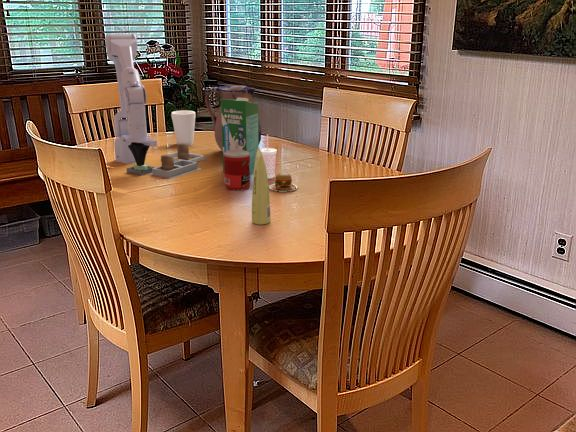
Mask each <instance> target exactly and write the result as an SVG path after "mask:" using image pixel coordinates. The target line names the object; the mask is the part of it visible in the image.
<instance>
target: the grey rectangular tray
mask: <svg viewBox="0 0 576 432" xmlns="http://www.w3.org/2000/svg"><path fill="white" fill-rule="evenodd" d="M154 167H155V168H152V172H151V173H149V175H150V176H151V175H152V176H155V177H161V178H165V179H170V180H173V179H176V178H178V177H181V176H184V175H187V174H190V173H194V172H197V171H199V170H200V171H201V170H202V168H201V167H199V162H192V161H187V160H179V161H176V162H174V169H173V170H169V171H166V170H162V165H159V166H157V167H156V166H154Z"/></svg>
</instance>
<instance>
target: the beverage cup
mask: <svg viewBox="0 0 576 432" xmlns="http://www.w3.org/2000/svg"><path fill="white" fill-rule="evenodd" d="M260 150H261V152H262V156H263V158H264V162H265V166H266V171H267V178H268V179H274V178H276V163H277V162H276V159H277V151H278V149H276V148H273V147H272V148H271V147H269V134H266V147H263V148H260ZM273 177H274V178H273Z"/></svg>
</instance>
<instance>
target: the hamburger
mask: <svg viewBox="0 0 576 432" xmlns="http://www.w3.org/2000/svg"><path fill="white" fill-rule="evenodd" d="M273 181H274V183H272V184H270V185H268V186H269V190H272V191H273V190H274V192H277V190H278V191H279V192H278V193H288V192H287V191H288V190H286V189H289V191H290V192H294V191H295V190H298V185H296V184H294V183H293V179H292V175H291V174H290V173H287V172H279V173H277V175H275V179H274V180H273ZM292 184H293V185H295V186H296V189H295V188H294V189H292V190H291V188H292V187H293V186H292ZM272 186H273V187H275V188H276V189H277V190H276V189H272V188H273V187H272ZM271 187H272V188H271ZM279 189H280V190H279Z"/></svg>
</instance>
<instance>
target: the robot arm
mask: <svg viewBox="0 0 576 432" xmlns="http://www.w3.org/2000/svg"><path fill="white" fill-rule="evenodd" d="M104 37H105V38H104V39H105V41H104V43H105V49H106V56H107V59H108V60H109V61H111V62H113V64H114V66H115V71H116V79H117V80H116V81H117V88H118V95H119V96H118V97H119V104H120V105H119V106H120V110H119V111H118V112H116V113H115V115H114V117H113V120H114V121H113V126H114V133H115V136H116V138H115V140H114V143H113V145H114V146H113V147H114V155H115V159H114V160H113V161H114V162H118V163H123V164H127V165H130V164H131V165H132V164H137V166H142V165H144V164H146V163H145V161H146V156H147V153H148V150H149V149H150V147H151V148H153V147H157V146H158V143H157V140H156V139H153V138H151V137H148V131H147V120H146V119H147V116H146V104H147V91H146V88H145V86H144V84H143V83H142V80H141V76H140V73H139V71H138V69H136V68H135V66H134V65H135V64H134V61H135V59H136V56H137V52H138V41H137V40H138V39H137V36H136V34H135V33H123V34H122V33H112V34H111V33H107V34H105V36H104Z"/></svg>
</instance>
